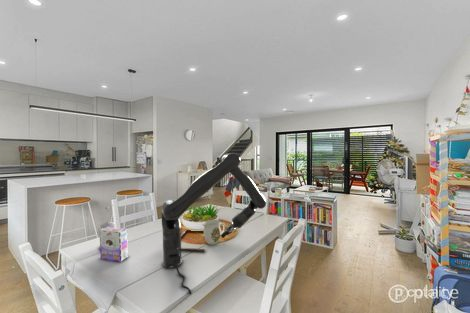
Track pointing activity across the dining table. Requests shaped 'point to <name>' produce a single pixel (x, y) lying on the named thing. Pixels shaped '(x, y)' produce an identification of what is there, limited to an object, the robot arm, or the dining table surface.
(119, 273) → the dining table surface
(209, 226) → the pitcher
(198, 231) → the bay
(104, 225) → the french press
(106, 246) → the candy box
